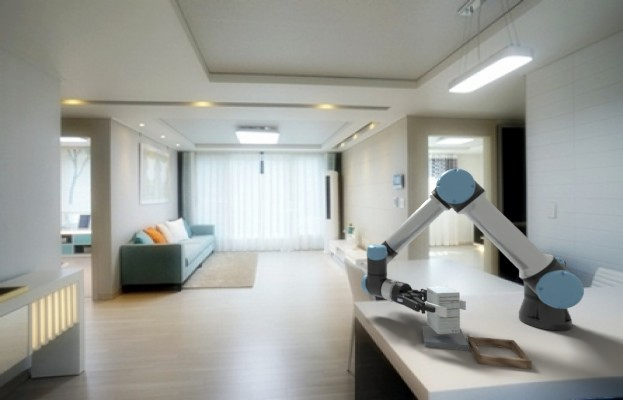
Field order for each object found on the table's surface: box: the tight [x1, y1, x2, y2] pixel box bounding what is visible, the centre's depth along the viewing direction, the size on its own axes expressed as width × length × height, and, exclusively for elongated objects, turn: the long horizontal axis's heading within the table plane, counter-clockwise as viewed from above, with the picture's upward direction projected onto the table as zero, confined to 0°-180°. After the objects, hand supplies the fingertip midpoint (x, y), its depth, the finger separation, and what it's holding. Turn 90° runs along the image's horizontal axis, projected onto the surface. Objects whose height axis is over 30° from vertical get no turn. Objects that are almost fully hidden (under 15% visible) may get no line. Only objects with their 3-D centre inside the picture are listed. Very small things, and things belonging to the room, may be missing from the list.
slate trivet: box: [421, 325, 470, 351], centre depth 99 cm, size 12×12×2 cm
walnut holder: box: [467, 336, 532, 370], centre depth 89 cm, size 12×12×2 cm
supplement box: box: [426, 285, 461, 334], centre depth 99 cm, size 7×7×13 cm
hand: (456, 309), depth 96 cm, fingers closed on supplement box, 10 cm apart
